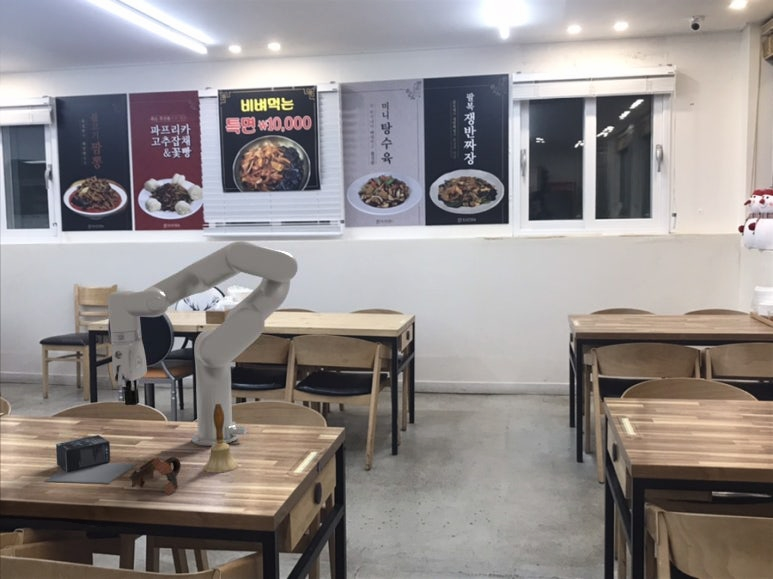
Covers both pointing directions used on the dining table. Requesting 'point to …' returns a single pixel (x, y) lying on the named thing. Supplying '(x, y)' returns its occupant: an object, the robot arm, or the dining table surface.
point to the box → (83, 453)
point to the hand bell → (220, 448)
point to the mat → (93, 474)
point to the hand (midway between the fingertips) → (132, 404)
